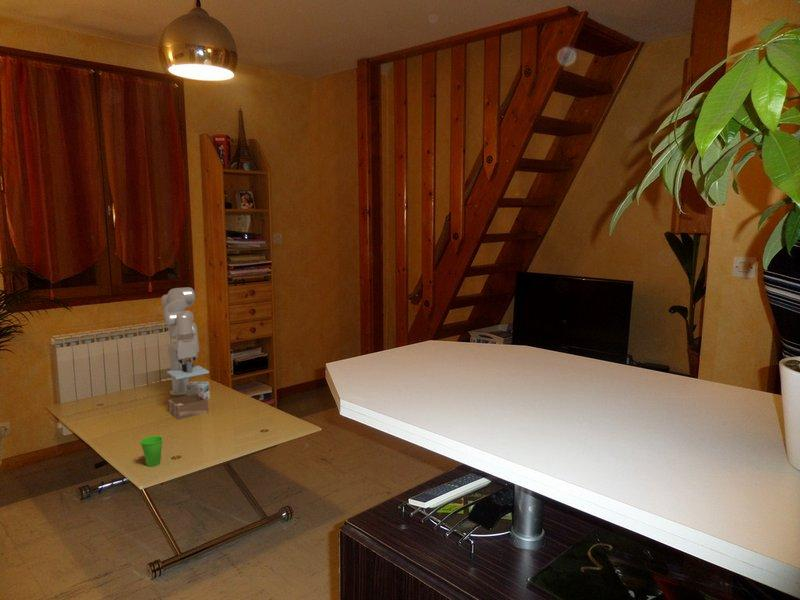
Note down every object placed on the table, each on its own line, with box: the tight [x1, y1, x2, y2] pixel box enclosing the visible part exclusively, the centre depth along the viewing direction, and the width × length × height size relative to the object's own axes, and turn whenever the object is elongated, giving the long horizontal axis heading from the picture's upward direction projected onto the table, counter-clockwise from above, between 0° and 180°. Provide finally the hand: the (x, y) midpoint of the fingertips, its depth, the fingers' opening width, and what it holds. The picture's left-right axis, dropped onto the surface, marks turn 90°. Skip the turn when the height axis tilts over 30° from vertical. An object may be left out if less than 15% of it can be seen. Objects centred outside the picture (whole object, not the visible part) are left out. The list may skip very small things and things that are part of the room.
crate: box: [167, 394, 210, 421], centre depth 293 cm, size 14×16×8 cm
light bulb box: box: [186, 381, 211, 401], centre depth 314 cm, size 11×7×11 cm, turn 84°
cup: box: [139, 435, 164, 468], centre depth 233 cm, size 9×9×11 cm
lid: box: [166, 359, 210, 380], centre depth 291 cm, size 15×17×7 cm
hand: (187, 370), depth 291 cm, fingers closed on lid, 2 cm apart
